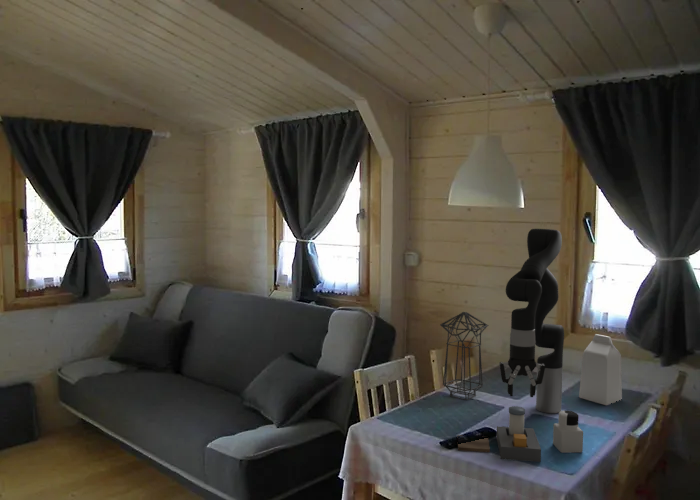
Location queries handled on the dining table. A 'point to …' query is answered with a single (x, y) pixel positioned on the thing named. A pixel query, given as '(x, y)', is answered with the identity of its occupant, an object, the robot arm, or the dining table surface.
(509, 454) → the block
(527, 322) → the robot arm
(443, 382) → the geometric lantern
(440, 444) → the dining table surface
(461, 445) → the walnut pad
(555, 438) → the medicine bottle
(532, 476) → the dining table surface
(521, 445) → the orange cardboard box
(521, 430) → the cylinder
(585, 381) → the milk
